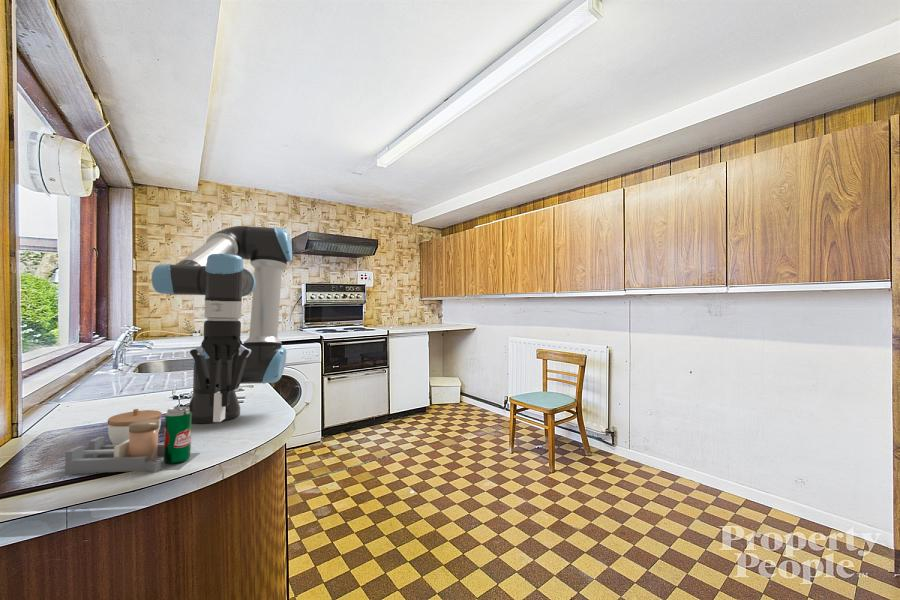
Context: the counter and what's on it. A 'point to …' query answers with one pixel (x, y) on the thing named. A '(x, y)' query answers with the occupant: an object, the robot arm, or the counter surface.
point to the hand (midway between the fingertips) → (219, 420)
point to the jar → (144, 439)
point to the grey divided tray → (115, 460)
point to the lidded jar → (120, 423)
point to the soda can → (177, 435)
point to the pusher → (112, 450)
